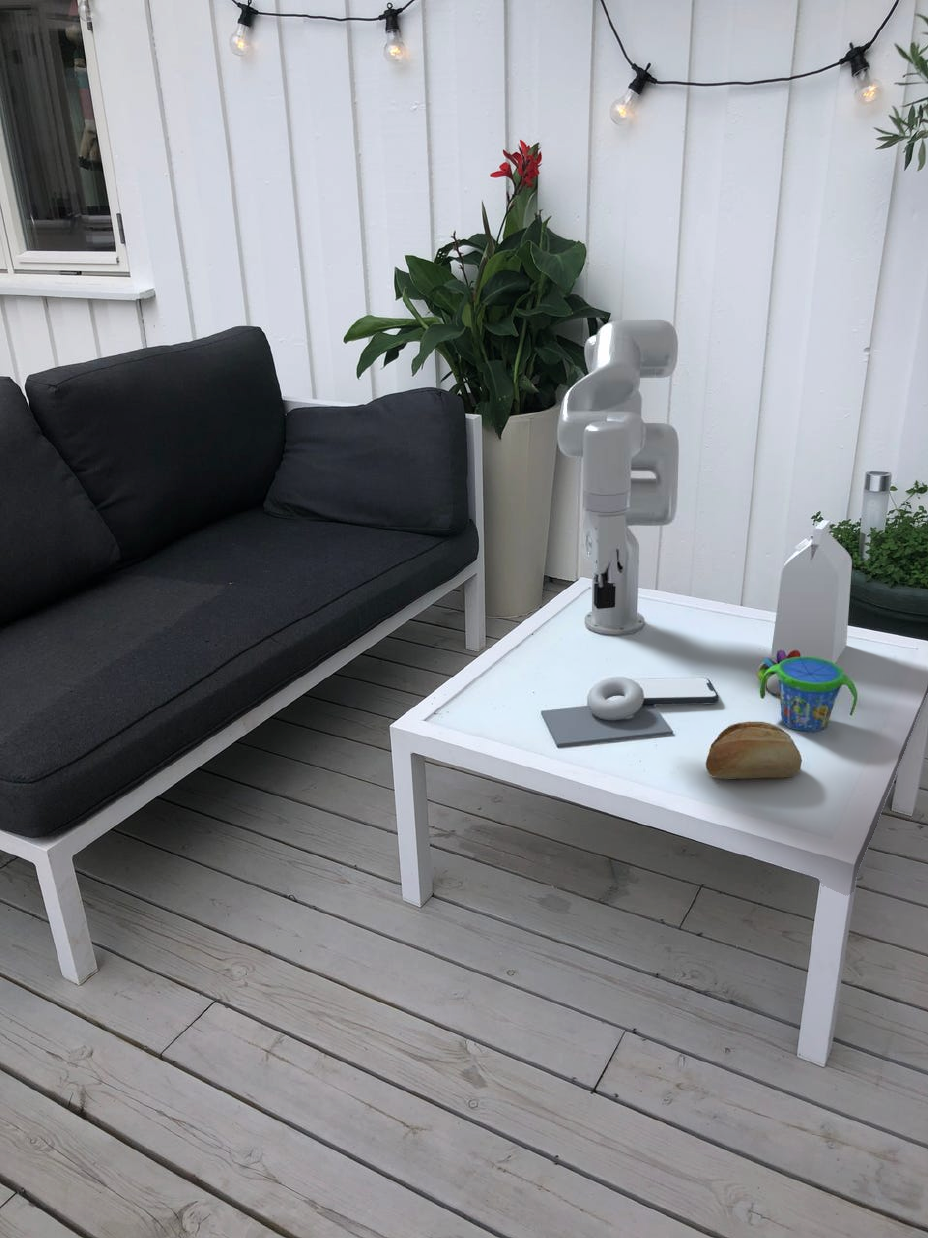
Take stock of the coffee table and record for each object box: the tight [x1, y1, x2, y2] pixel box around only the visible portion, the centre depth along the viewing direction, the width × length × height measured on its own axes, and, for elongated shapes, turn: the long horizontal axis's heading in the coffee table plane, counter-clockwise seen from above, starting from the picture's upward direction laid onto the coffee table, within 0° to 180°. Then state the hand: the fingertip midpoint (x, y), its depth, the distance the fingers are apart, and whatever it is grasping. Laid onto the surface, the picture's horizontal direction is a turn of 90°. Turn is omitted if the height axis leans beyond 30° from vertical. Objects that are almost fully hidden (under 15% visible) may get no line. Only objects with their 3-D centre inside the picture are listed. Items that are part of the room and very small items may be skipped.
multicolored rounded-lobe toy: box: [757, 650, 801, 695], centre depth 183 cm, size 8×10×7 cm
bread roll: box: [705, 721, 803, 780], centre depth 156 cm, size 10×15×8 cm, turn 97°
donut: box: [586, 676, 644, 721], centre depth 176 cm, size 10×4×10 cm
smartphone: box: [631, 677, 719, 706], centre depth 182 cm, size 9×2×16 cm
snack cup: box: [759, 657, 858, 733], centre depth 170 cm, size 16×10×10 cm
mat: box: [540, 705, 674, 748], centre depth 174 cm, size 12×20×1 cm, turn 99°
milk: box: [770, 519, 853, 664], centre depth 193 cm, size 12×12×26 cm
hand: (604, 606), depth 168 cm, fingers closed
